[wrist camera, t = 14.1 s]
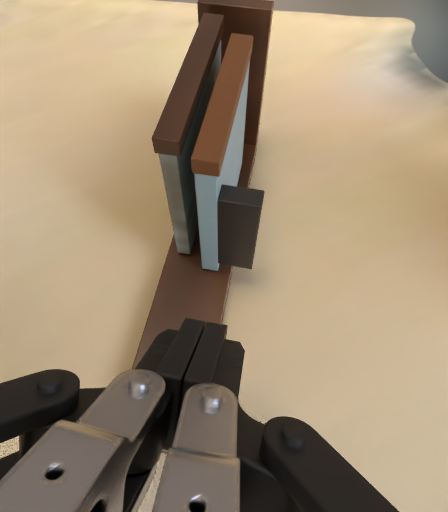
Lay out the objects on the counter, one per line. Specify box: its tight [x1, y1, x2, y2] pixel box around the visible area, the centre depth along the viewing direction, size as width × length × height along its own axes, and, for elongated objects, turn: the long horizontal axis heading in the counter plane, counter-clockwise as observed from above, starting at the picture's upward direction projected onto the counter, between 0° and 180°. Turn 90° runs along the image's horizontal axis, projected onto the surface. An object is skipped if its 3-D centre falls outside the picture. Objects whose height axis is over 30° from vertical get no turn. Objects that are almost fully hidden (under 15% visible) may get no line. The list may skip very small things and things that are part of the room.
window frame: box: [132, 0, 274, 453], centre depth 23 cm, size 5×27×13 cm, turn 169°
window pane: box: [191, 33, 264, 271], centre depth 24 cm, size 4×11×11 cm, turn 169°
